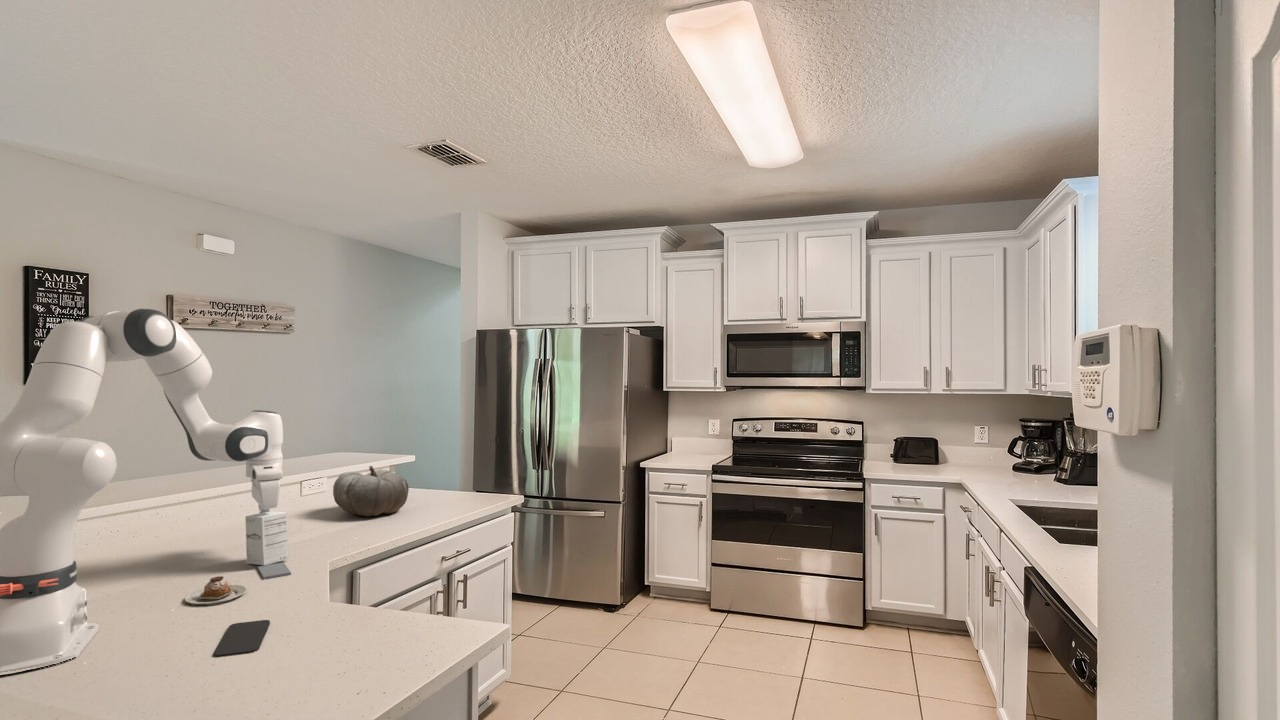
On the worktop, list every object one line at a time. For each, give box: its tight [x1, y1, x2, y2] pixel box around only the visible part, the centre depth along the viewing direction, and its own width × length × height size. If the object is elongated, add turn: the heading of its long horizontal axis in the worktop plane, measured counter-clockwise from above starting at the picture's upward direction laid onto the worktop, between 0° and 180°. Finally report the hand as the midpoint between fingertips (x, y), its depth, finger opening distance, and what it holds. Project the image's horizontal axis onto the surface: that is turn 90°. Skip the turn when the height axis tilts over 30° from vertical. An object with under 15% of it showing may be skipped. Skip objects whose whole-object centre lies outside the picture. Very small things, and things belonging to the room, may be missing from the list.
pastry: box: [184, 576, 248, 606], centre depth 151 cm, size 12×12×5 cm
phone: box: [213, 619, 271, 658], centre depth 129 cm, size 7×1×15 cm
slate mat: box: [257, 561, 292, 580], centre depth 169 cm, size 10×6×1 cm, turn 38°
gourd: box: [332, 465, 409, 517], centre depth 233 cm, size 25×25×17 cm
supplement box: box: [245, 511, 290, 566], centre depth 176 cm, size 7×7×13 cm
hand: (263, 519), depth 182 cm, fingers closed
